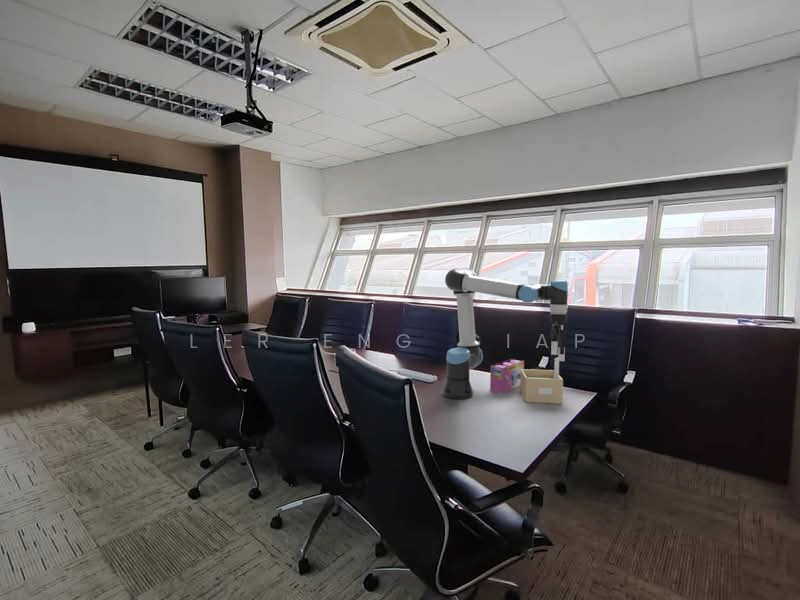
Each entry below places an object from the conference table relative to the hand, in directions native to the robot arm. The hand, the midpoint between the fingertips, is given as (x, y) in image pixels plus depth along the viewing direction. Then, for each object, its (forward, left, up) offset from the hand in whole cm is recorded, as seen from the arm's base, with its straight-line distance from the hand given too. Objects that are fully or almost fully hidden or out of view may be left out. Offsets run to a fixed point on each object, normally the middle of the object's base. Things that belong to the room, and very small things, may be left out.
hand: (557, 357), depth 187 cm
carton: (-6, +9, -22) cm, 25 cm away
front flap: (-6, 0, -22) cm, 23 cm away
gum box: (-20, +23, -23) cm, 38 cm away
